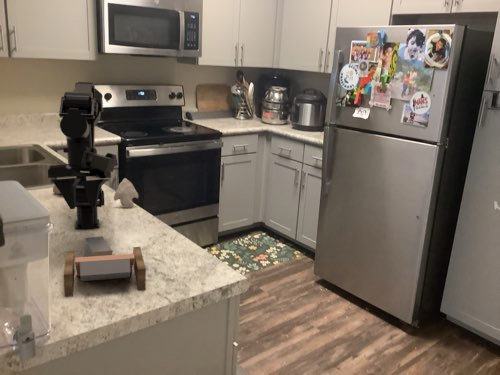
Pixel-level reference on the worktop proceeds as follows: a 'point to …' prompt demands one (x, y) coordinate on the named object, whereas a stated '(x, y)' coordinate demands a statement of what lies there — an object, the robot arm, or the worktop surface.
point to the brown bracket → (70, 271)
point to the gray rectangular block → (96, 247)
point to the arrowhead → (126, 193)
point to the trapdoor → (104, 267)
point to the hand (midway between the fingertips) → (83, 208)
